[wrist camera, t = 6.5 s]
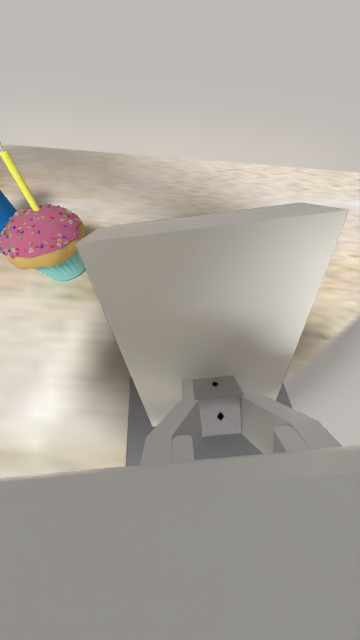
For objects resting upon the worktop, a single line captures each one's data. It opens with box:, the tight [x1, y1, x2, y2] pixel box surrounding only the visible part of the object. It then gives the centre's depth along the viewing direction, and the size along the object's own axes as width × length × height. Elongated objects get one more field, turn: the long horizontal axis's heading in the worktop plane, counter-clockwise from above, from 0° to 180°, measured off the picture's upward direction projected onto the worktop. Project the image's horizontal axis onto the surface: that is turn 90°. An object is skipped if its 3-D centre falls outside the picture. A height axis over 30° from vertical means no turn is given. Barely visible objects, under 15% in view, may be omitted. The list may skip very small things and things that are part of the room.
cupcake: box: [0, 143, 86, 281], centre depth 19 cm, size 9×8×12 cm
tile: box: [75, 203, 349, 427], centre depth 10 cm, size 2×8×12 cm, turn 95°
